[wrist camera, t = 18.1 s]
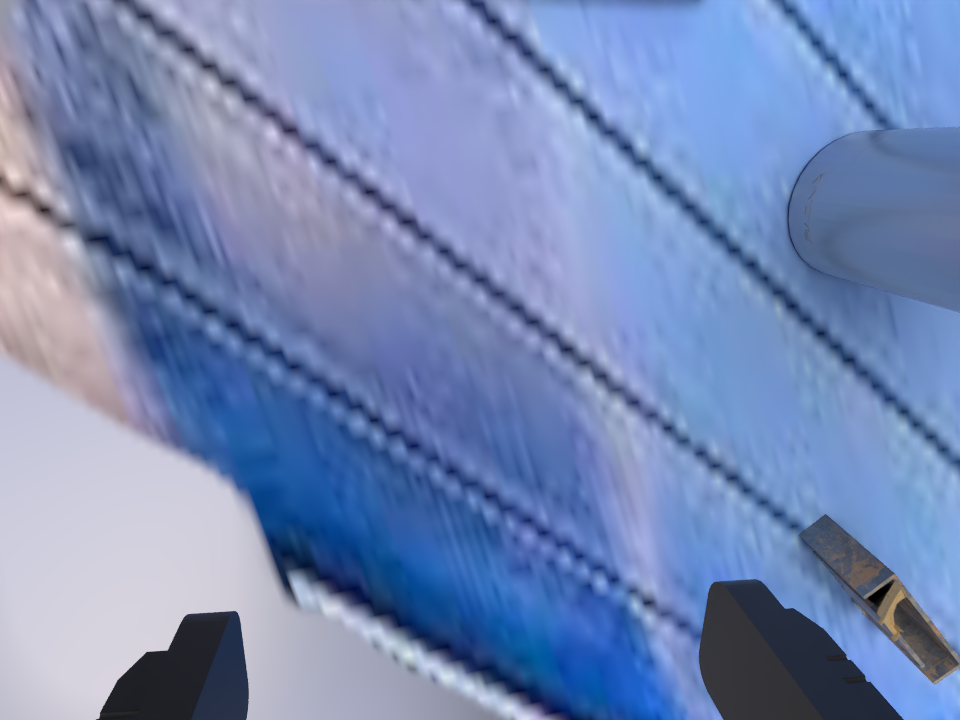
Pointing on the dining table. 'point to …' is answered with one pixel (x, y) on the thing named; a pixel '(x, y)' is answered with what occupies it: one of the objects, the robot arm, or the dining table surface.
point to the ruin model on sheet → (882, 599)
